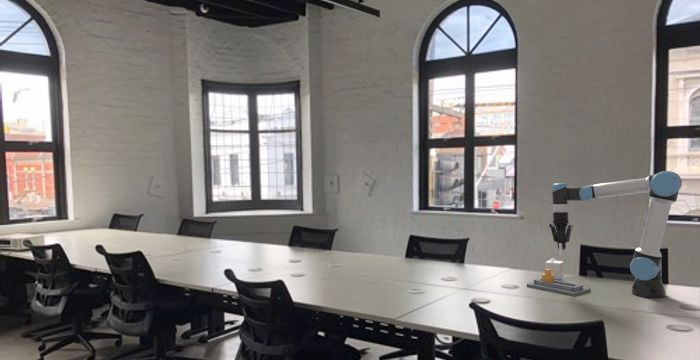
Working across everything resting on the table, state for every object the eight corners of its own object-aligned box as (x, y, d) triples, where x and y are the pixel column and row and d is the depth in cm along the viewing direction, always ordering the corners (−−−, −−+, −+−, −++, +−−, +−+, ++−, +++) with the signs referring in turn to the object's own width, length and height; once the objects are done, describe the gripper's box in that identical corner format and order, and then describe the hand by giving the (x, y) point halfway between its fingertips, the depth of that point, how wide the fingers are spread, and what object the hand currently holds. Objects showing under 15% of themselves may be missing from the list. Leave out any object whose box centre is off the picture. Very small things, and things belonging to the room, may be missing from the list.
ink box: (560, 283, 282) (560, 260, 282) (545, 282, 287) (544, 259, 287) (564, 281, 289) (564, 258, 289) (549, 279, 294) (549, 256, 294)
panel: (590, 291, 264) (590, 284, 264) (574, 296, 254) (574, 289, 254) (543, 282, 286) (543, 276, 286) (526, 286, 277) (526, 280, 277)
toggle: (554, 283, 274) (554, 269, 274) (550, 285, 272) (549, 270, 272) (546, 282, 278) (545, 268, 278) (541, 283, 276) (541, 269, 276)
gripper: (575, 211, 265) (577, 255, 265) (553, 210, 276) (554, 252, 276) (567, 212, 261) (569, 257, 261) (545, 211, 271) (547, 254, 271)
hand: (561, 255), depth 268 cm, fingers closed
